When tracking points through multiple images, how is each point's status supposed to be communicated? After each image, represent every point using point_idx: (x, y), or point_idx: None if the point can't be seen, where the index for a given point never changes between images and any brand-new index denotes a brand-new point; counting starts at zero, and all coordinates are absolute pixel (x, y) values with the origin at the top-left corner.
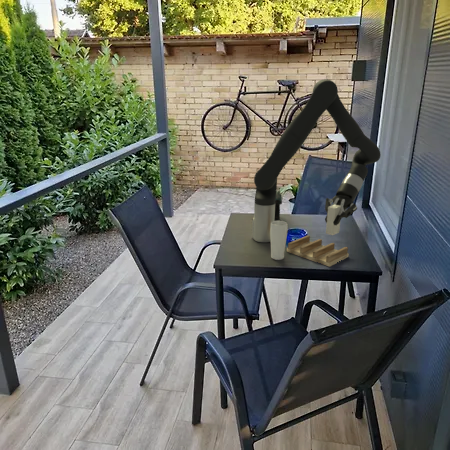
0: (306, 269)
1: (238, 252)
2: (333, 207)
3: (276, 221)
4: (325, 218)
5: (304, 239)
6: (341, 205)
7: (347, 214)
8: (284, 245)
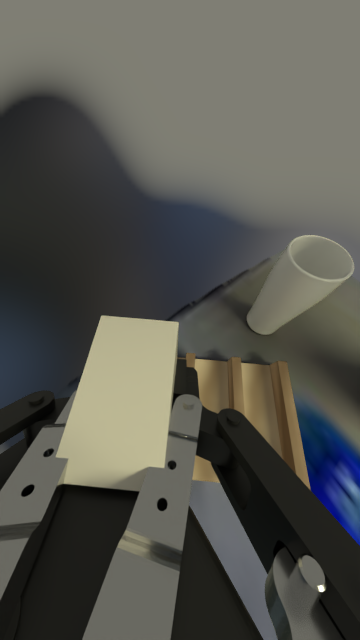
0: (177, 312)
1: (333, 293)
2: (124, 335)
3: (349, 271)
4: (194, 372)
5: (289, 448)
6: (46, 471)
7: (23, 453)
8: (258, 303)
